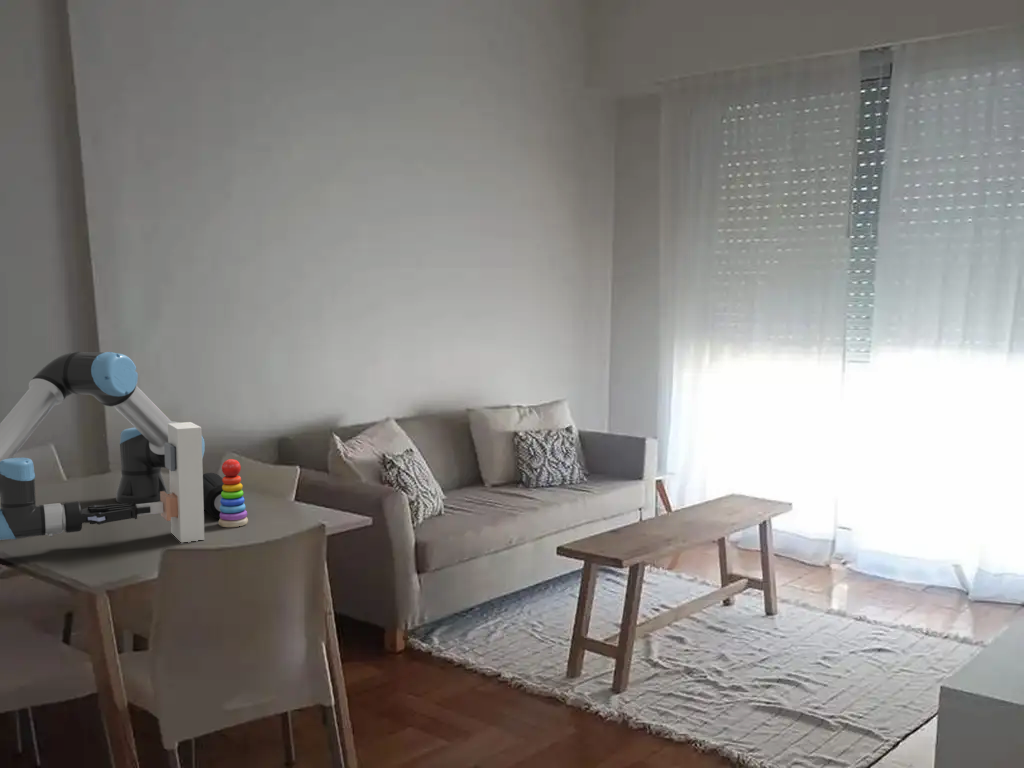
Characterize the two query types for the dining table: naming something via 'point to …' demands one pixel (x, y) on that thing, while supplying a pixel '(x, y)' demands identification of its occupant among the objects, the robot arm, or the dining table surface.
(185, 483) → the button panel
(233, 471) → the stacking toy
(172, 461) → the upper button
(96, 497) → the dining table surface
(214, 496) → the portable speaker
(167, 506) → the lower button
